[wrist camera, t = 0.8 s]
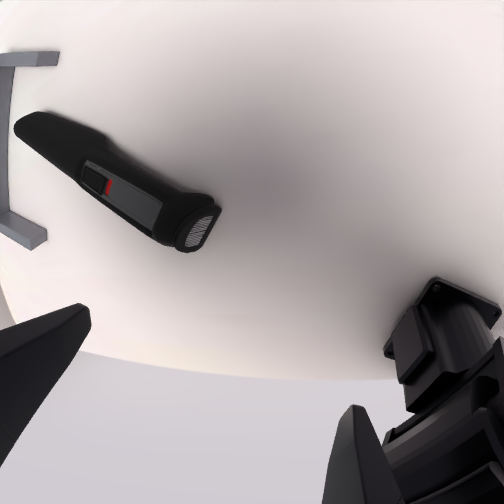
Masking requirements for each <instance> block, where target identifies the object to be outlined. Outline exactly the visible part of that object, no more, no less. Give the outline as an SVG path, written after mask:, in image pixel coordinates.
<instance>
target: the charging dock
mask: <svg viewBox="0 0 504 504" xmlns="http://www.w3.org/2000/svg"><path fill="white" fill-rule="evenodd" d="M58 56H59V52H16V53H1V54H0V232H1V233H2V234H4V235H6V236H7V237H9V238H10V239H12V240H14V241H15V242H17V243H19V244H20V245H22V246H24V247H25V248H27V249H29V250H30V251H32V250H33V249H34V248H36V247H37V246H39V245H40V244H42V243H43V242H45V241H46V240H47V233H46V229H44V228H42V227H40V226H38V225H36V224H34V223H32V222H30V221H29V220H27V219H25V218H23V217H21V216H19V215H17V214H15V213H13V212H12V211H10V210H9V197H8V171H7V149H8V123H9V110H10V99H11V90H12V82H13V75H14V68H15V66H30V67H38V66H55V65H57V61H58Z"/></svg>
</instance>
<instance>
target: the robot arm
mask: <svg viewBox="0 0 504 504" xmlns="http://www.w3.org/2000/svg"><path fill="white" fill-rule="evenodd" d="M435 285H439V286H438V287H437V288H433V287H434V286H435ZM494 312H495V313H494ZM493 313H494V314H493ZM501 314H502V310H501V308H500V307H499V306H498V305H497V304H495V303H493V302H491V301H488V300H486V299H484V298H482V297H480V296H478V295H476V294H473V293H471V292H469V291H467V290H465V289H463V288H460V287H458V286H456V285H454V284H451V283H449V282H447V281H445V280H443V279H440V278H433V279H431V280H430V281H429V282H428V284H427V286H426V287H425V289H424V290H423V292H422V293H421V295H420V296H419V298H418V300H417V301H416V303H415V304H414V305H412V306H411V307H410V308H409V310H408V311H407V313H406V314H405V316H404V317H403V319H402V320H401V322H400V323H399V324H398V326H397V327H396V329H395V330H394V331H393V333H392V335H391V336H392V337H391V338H390V340H389V341H388V342H387V344H386V345H385V346H384V348H383V352H384V356H385V357H387V358H390V359H393V360H395V362H396V370H397V378H398V382H399V384H403V387H404V395H405V403H406V411H408V412H412V413H415V415H413V416H412V417H411V418H409V419H408V420H406V421H405V422H404V423H402V424H401V425H399V426H398V427H396V428H392V429H391V430H390V431H388V432H387V433H386V435H385V438H384V441H383V444H382V446H381V444H380V441H379V439H378V437H377V435H376V433H375V430H374V428H373V426H372V423H371V421H370V419H369V416H368V414H367V412H366V410H365V408H364V407H362V406H359V405H354V404H353V405H351V406H350V407H349V408H348V409H347V411H346V412H345V413H344V414H343V416H342V417H341V419H340V421H339V424H338V428H337V432H336V436H335V440H334V444H333V448H332V452H331V455H330V459H329V463H328V469H327V475H326V481H325V488H324V493H323V499H322V504H504V338H502V337H501V336H500V337H499V338H498V339H497V340H496V341H495V340H494V338H493V335H492V333H491V331H490V329H491V328H492V327H493V325H494V324H495V323H496V321H497V320H498V319H499V317H500V316H501ZM90 329H91V317H90V311H89V308H88V307H87V306H85V305H83V304H81V303H77V304H74V305H71V306H68V307H65V308H62V309H59V310H56V311H54V312H51V313H48V314H45V315H42V316H39V317H37V318H34V319H31V320H28V321H25V322H22V323H20V324H17V325H14V326H11V327H9V328H5V329H3V330H0V467H1V465H2V464H3V462H4V460H5V459H6V457H7V455H8V454H9V452H10V451H11V449H12V448H13V446H14V444H15V443H16V441H17V439H18V438H19V436H20V435H21V433H22V432H23V430H24V429H25V427H26V426H27V424H28V423H29V421H30V420H31V418H32V417H33V415H34V414H35V412H36V411H37V409H38V408H39V406H40V405H41V404H42V402H43V401H44V399H45V398H46V396H47V395H48V394H49V392H50V391H51V389H52V388H53V386H54V385H55V384H56V382H57V381H58V379H59V378H60V377H61V376H62V374H63V373H64V371H65V370H66V369H67V367H68V366H69V365H70V363H71V361H72V360H73V358H74V357H75V355H76V353H77V352H78V350H79V348H80V346H81V345H82V343H83V341H84V340H85V338H86V336H87V335H88V333H89V331H90ZM389 350H392V351H389Z"/></svg>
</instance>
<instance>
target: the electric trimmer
mask: <svg viewBox="0 0 504 504" xmlns="http://www.w3.org/2000/svg"><path fill="white" fill-rule="evenodd" d="M13 129H14V133H15V135H16V136H17V137H18V138H20V139H21V140H22V141H23V142H25V143H26V144H27V145H29V146H30V147H31V148H32V149H34V150H35V151H36V152H38V153H39V154H40V155H41V156H43V157H44V158H45V159H47V160H48V161H49V162H51V163H52V164H53V165H55V166H56V167H57V168H58V169H60V170H61V171H62V172H64V173H65V174H66V175H68V176H69V177H70V178H72V179H73V180H74V181H76V182H77V183H78V185H79V186H80V187H81V188H83V189H84V190H85V191H86V192H88V193H89V194H90V195H92V196H93V197H94V198H96V199H97V200H98V201H100V202H101V203H102V204H104V205H105V206H106V207H108V208H109V209H111V210H112V211H113V212H115V213H116V214H117V215H119V216H120V217H122V218H123V219H124V220H126V221H127V222H128V223H130V224H131V225H133V226H134V227H135V228H137V229H138V230H140V231H141V232H142V233H144V234H145V235H147V236H148V237H150V238H152V239H153V240H155V241H157V242H158V243H160V244H162V245H164V246H169V247H175V248H176V250H178V251H180V252H184V253H190V252H195V251H197V250H199V249H200V248H201V247H202V246H203V244H204V242H205V241H206V239H207V237H208V235H209V233H210V231H211V230H212V228H213V226H214V224H215V222H216V220H217V219H218V217H219V215H220V213H221V208H220V207H218V206H217V205H215V204H214V199H213V198H212V197H210V196H208V195H204V194H199V193H185V192H180V191H178V190H177V189H175V188H173V187H172V186H170V185H168V184H166V183H165V182H163V181H161V180H160V179H158V178H156V177H155V176H153V175H151V174H149V173H148V172H146V171H144V170H143V169H141V168H139V167H138V166H136V165H134V164H132V163H131V162H129V161H127V160H126V159H124V158H122V157H120V156H119V155H117V154H115V153H114V152H112V151H111V150H110V148H109V145H108V143H107V141H106V139H105V137H104V136H103V135H102V134H100V133H97V132H95V131H93V130H91V129H88V128H86V127H83V126H80V125H78V124H75V123H72V122H70V121H67V120H64V119H61V118H59V117H56V116H53V115H50V114H48V113H45V112H39V111H38V112H33V113H31V114H29V115H26V116H24V117H22V118H20V119H19V120H18V121H16V123H15V125H14V128H13ZM88 163H89V164H88ZM98 168H99V169H98Z"/></svg>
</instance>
